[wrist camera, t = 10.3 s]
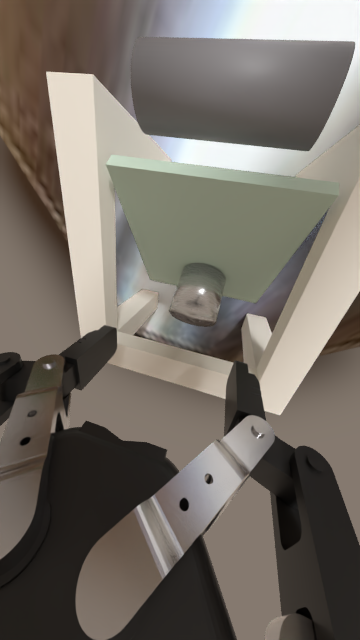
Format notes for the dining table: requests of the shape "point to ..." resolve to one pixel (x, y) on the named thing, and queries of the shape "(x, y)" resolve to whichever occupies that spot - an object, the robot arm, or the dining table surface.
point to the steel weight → (198, 295)
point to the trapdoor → (229, 127)
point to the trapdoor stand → (101, 297)
